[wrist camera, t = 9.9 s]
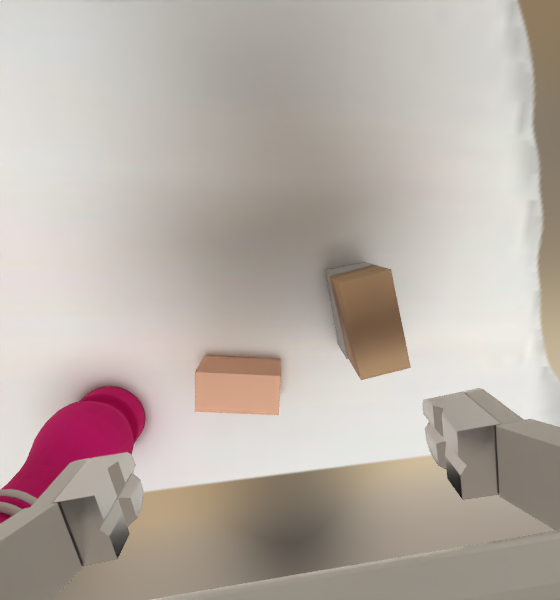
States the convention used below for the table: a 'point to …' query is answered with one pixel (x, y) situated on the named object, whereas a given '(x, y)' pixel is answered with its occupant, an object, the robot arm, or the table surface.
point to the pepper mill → (74, 443)
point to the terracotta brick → (238, 385)
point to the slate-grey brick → (335, 314)
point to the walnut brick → (370, 320)
